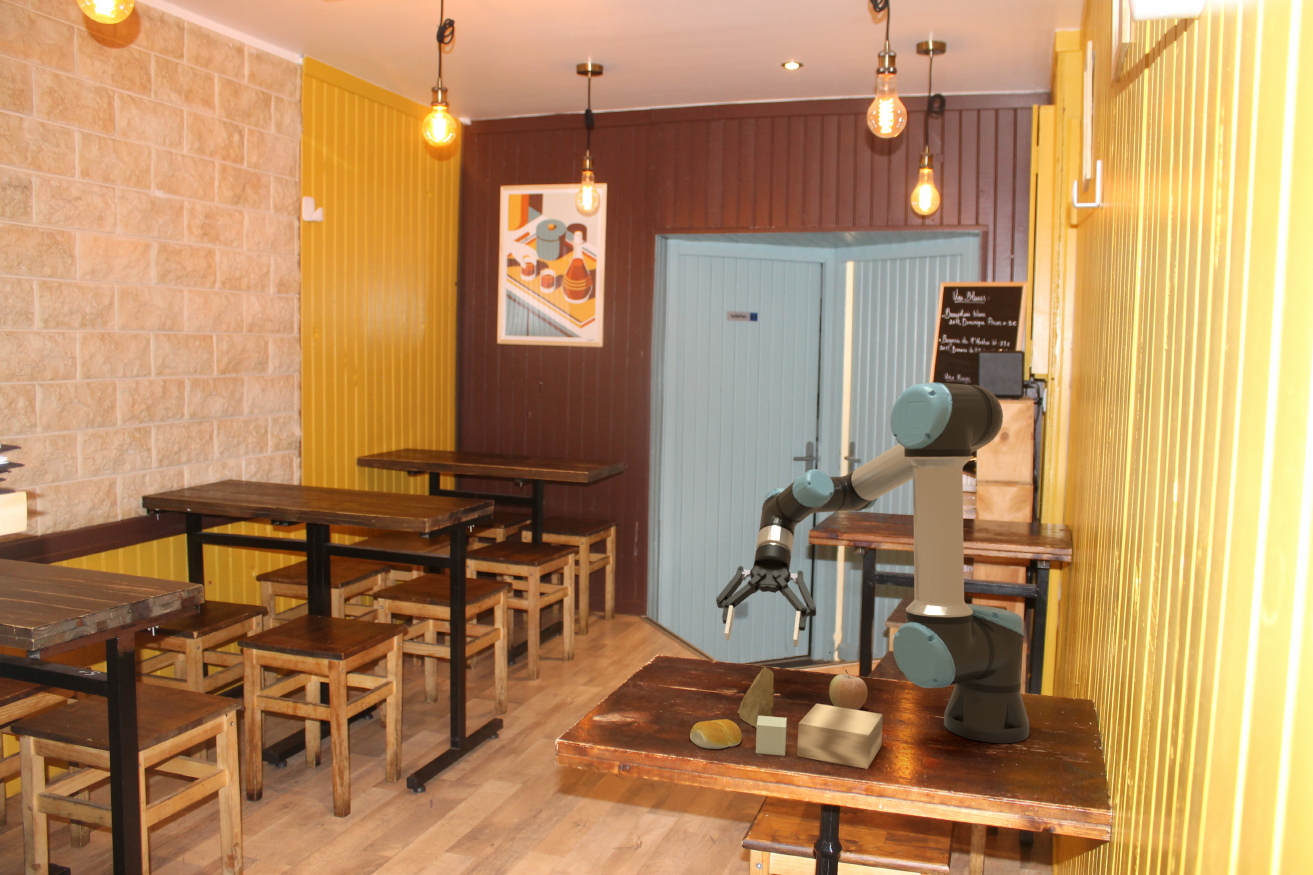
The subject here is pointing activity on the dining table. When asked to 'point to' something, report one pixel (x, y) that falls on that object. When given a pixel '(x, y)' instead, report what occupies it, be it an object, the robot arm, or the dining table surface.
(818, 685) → the dining table surface
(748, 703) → the rock
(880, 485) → the robot arm
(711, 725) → the bread roll
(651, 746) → the dining table surface
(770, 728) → the pale cream cube
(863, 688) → the fruit
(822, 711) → the beech block
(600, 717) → the dining table surface
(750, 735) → the dining table surface
